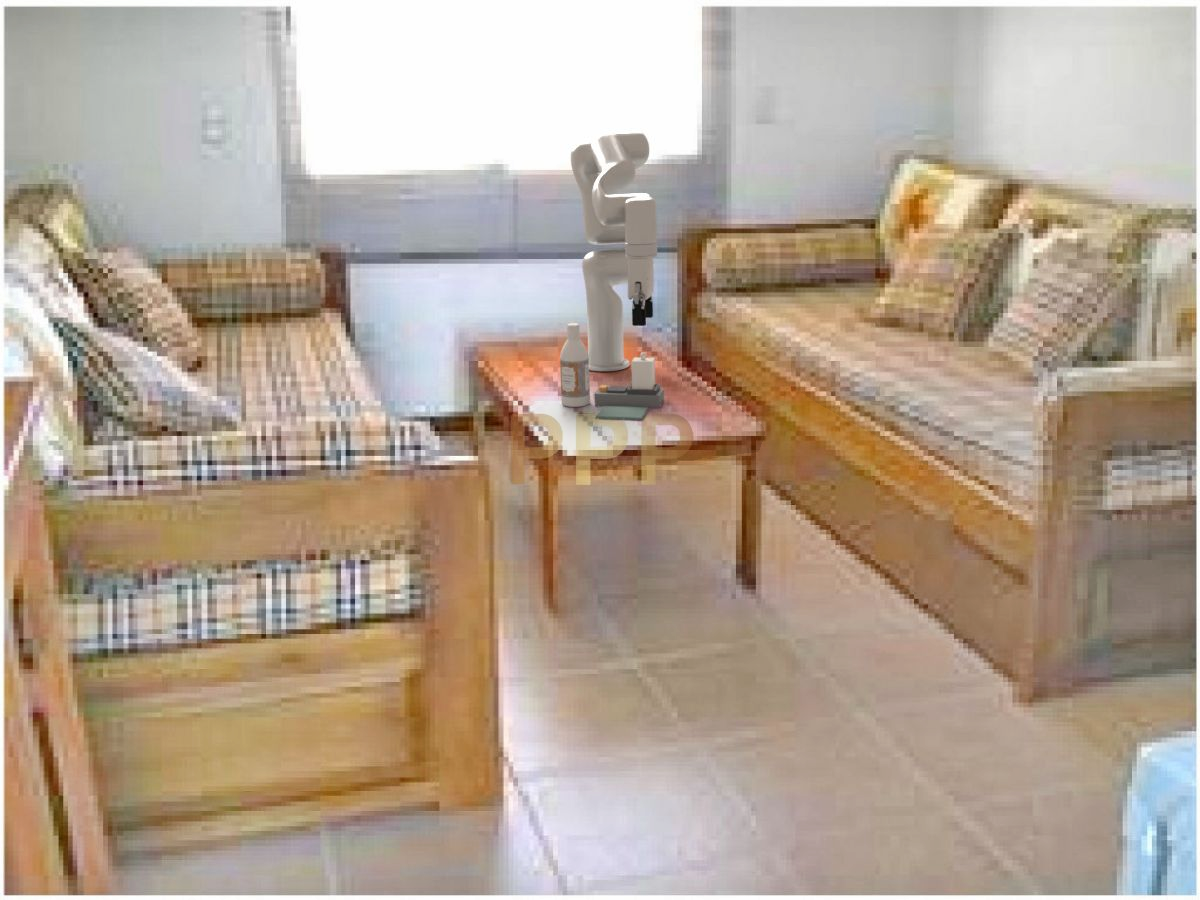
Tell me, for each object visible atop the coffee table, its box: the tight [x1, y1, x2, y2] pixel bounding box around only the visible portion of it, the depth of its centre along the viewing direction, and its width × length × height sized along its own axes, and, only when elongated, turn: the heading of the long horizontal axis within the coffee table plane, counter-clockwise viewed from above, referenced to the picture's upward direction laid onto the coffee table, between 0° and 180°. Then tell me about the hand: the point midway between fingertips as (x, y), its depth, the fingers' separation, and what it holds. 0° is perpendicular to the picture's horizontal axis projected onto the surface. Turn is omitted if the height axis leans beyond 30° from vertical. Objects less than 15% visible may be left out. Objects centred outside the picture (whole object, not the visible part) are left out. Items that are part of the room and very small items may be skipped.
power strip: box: [594, 382, 665, 409], centre depth 339 cm, size 7×16×4 cm, turn 78°
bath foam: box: [559, 322, 591, 408], centre depth 337 cm, size 7×7×20 cm
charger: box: [630, 352, 656, 390], centre depth 336 cm, size 4×5×10 cm
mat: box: [595, 406, 649, 421], centre depth 330 cm, size 9×11×1 cm
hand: (642, 321), depth 332 cm, fingers open, 9 cm apart
